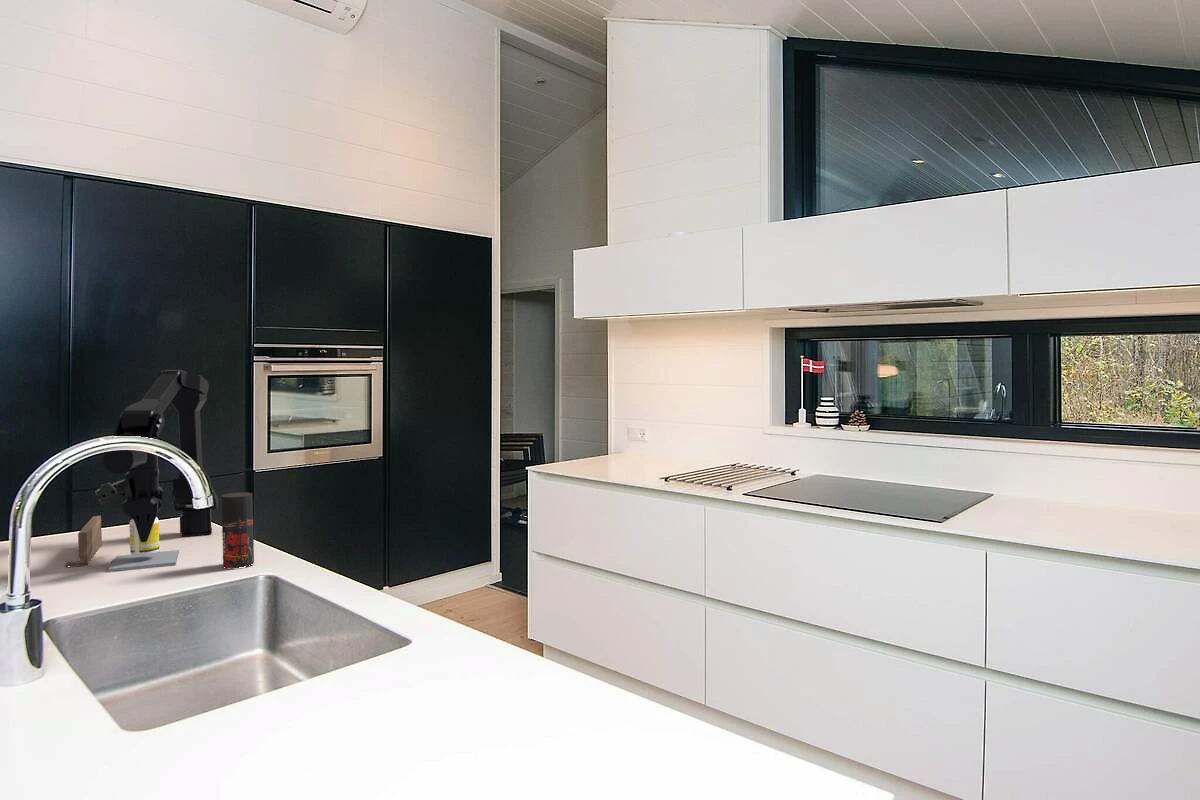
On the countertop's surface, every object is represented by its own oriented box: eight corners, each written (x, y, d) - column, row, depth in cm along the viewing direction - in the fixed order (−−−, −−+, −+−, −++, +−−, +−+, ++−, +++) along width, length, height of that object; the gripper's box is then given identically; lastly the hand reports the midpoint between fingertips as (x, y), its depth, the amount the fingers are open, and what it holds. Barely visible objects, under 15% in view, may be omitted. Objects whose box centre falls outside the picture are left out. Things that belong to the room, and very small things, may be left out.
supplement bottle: (165, 550, 167) (163, 505, 166) (148, 556, 161) (146, 510, 161) (142, 549, 167) (140, 505, 167) (124, 555, 162) (122, 510, 161)
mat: (179, 552, 172) (179, 549, 172) (175, 565, 161) (175, 562, 161) (116, 558, 167) (116, 555, 167) (108, 571, 156) (108, 569, 156)
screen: (102, 545, 179) (101, 515, 179) (88, 565, 161) (86, 532, 161) (81, 546, 178) (80, 517, 177) (65, 567, 160) (64, 534, 159)
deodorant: (216, 566, 160) (215, 495, 159) (241, 560, 165) (240, 491, 165) (235, 570, 157) (233, 498, 157) (260, 563, 163) (258, 493, 162)
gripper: (104, 463, 168) (107, 534, 169) (90, 475, 151) (93, 553, 152) (162, 460, 173) (164, 529, 174) (155, 471, 156) (158, 547, 157)
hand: (145, 539), depth 164 cm, fingers closed on supplement bottle, 5 cm apart
